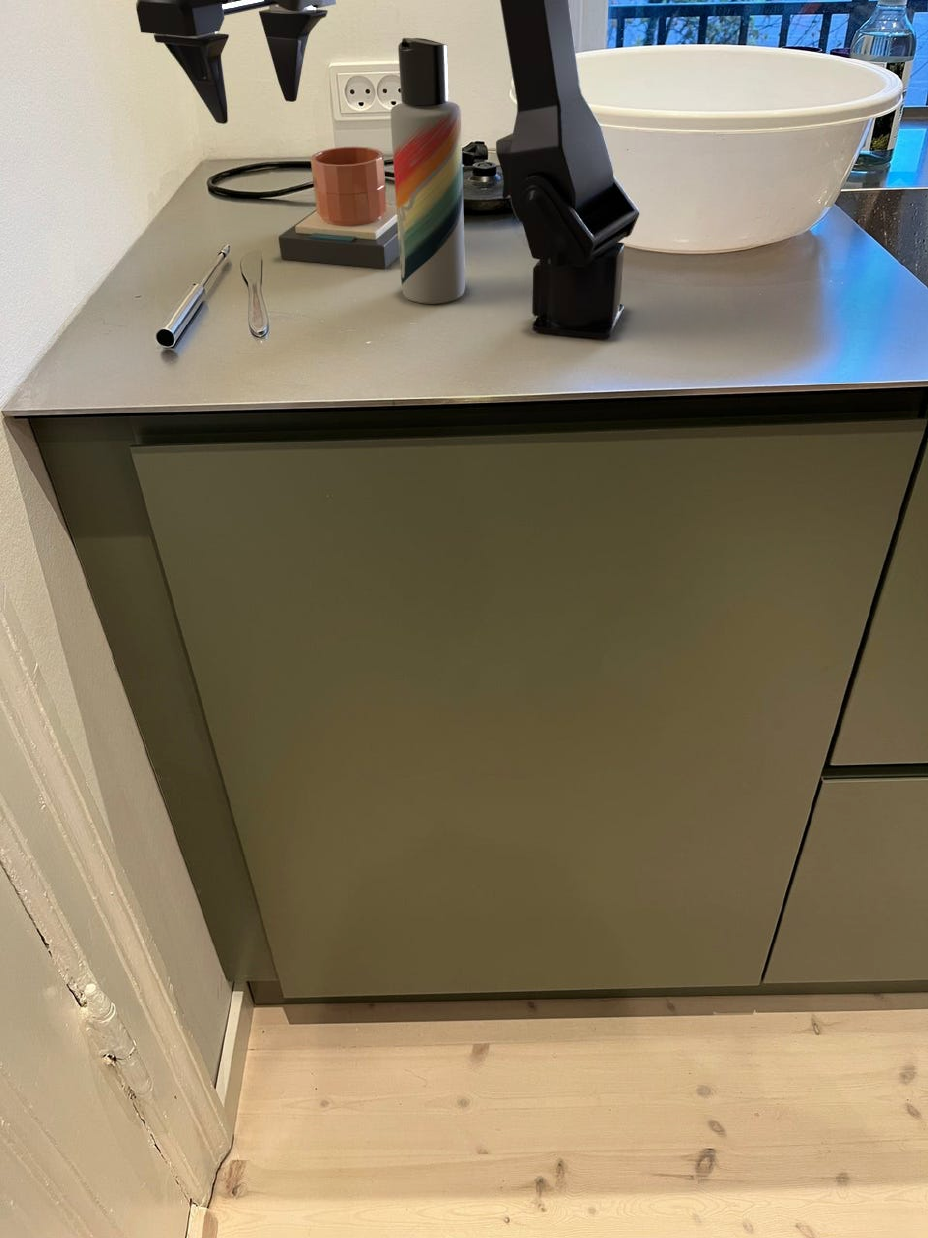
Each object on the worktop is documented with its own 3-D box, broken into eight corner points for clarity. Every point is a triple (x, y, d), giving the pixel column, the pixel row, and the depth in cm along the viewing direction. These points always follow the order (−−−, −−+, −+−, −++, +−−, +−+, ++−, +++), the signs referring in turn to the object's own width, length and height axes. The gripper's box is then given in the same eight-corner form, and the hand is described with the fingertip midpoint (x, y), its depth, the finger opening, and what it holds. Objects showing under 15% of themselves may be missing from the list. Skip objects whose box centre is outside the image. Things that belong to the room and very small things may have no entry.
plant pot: (356, 200, 100) (351, 142, 96) (401, 214, 96) (397, 154, 92) (304, 216, 96) (296, 157, 93) (348, 231, 92) (342, 169, 89)
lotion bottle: (392, 288, 88) (373, 35, 76) (447, 276, 90) (438, 27, 78) (418, 309, 85) (403, 46, 72) (476, 296, 86) (472, 38, 74)
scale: (424, 231, 100) (423, 202, 99) (385, 269, 92) (382, 238, 91) (327, 223, 103) (324, 195, 101) (281, 259, 95) (276, 229, 93)
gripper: (219, -94, 68) (255, 146, 78) (376, -112, 80) (390, 99, 90) (109, -96, 73) (156, 131, 83) (274, -113, 85) (298, 87, 95)
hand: (257, 111), depth 87 cm, fingers open, 9 cm apart
